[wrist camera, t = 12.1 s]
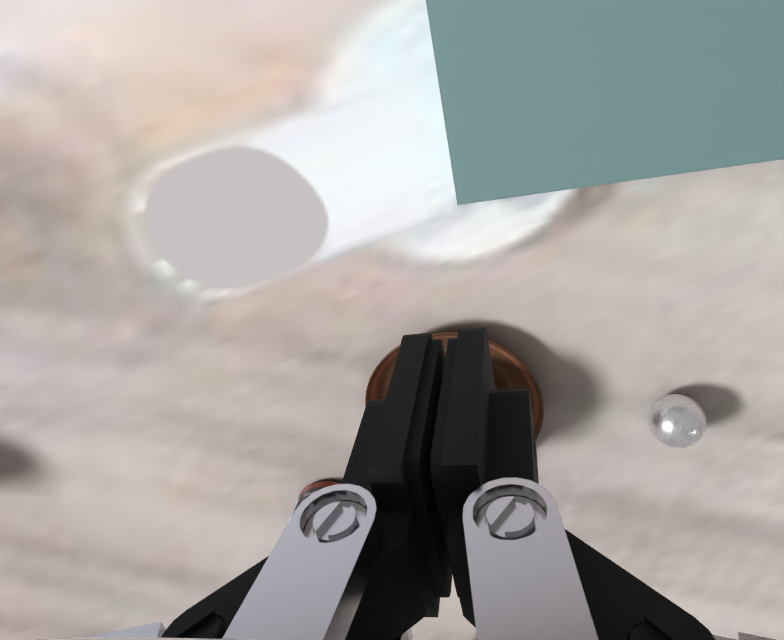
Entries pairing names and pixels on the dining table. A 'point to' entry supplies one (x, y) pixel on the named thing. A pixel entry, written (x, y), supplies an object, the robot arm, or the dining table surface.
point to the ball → (677, 421)
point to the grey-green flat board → (605, 90)
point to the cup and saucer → (505, 373)
